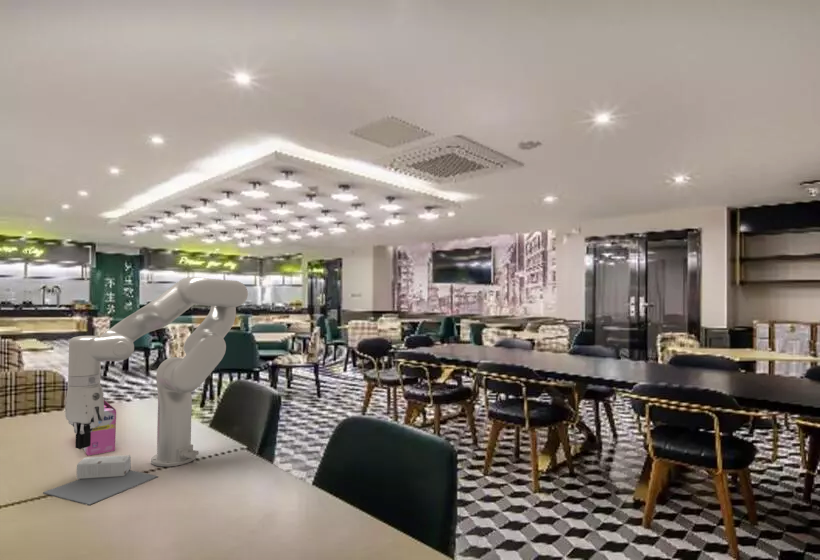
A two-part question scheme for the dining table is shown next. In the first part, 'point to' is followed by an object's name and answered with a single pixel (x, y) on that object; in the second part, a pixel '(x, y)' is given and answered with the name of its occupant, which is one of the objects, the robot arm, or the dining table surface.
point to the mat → (99, 487)
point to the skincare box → (103, 466)
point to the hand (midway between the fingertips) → (83, 447)
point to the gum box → (103, 433)
